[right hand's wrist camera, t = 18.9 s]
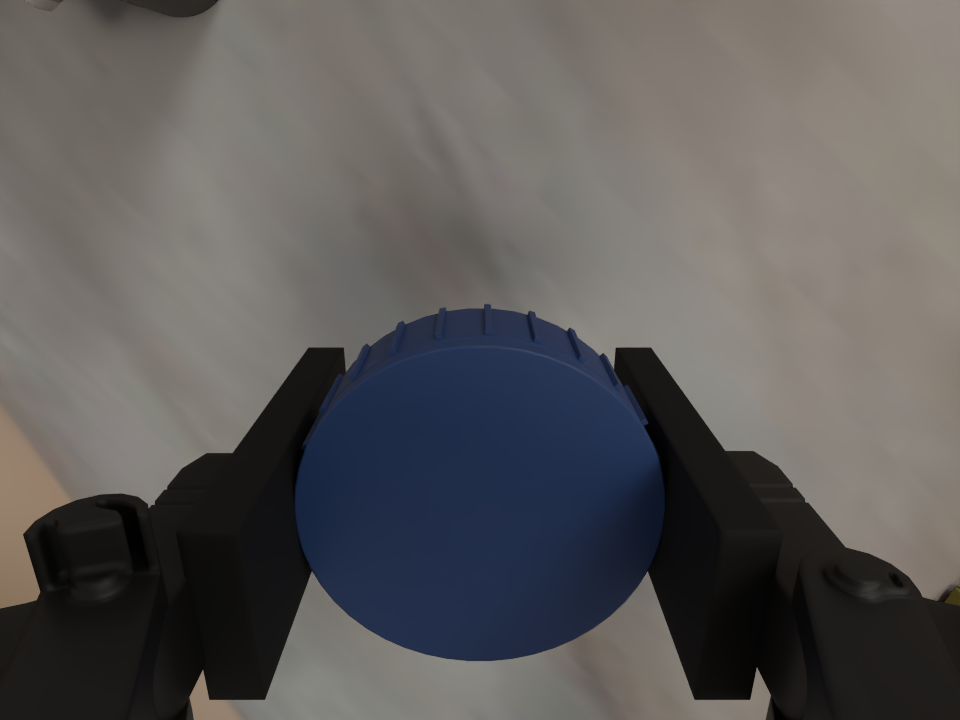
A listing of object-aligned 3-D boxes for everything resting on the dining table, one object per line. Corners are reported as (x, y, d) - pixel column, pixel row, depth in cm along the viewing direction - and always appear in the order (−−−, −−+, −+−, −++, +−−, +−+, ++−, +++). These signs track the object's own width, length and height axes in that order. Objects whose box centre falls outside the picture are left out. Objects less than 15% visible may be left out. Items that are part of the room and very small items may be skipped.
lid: (699, 498, 12) (737, 564, 11) (439, 634, 14) (433, 715, 12) (532, 233, 11) (543, 259, 9) (249, 418, 12) (207, 474, 10)
